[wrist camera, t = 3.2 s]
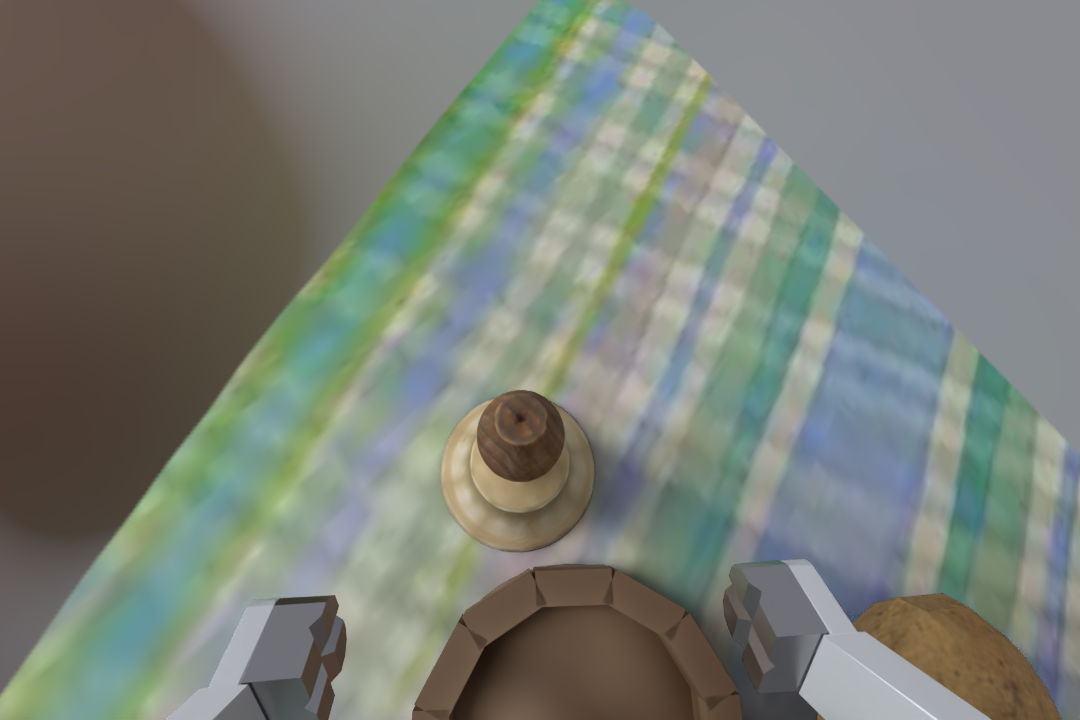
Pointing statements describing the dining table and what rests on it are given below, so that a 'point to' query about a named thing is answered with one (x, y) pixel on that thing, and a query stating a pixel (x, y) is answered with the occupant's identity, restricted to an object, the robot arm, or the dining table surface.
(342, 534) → the dining table surface
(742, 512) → the dining table surface
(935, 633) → the potato
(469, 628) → the tray
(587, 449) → the hand bell
